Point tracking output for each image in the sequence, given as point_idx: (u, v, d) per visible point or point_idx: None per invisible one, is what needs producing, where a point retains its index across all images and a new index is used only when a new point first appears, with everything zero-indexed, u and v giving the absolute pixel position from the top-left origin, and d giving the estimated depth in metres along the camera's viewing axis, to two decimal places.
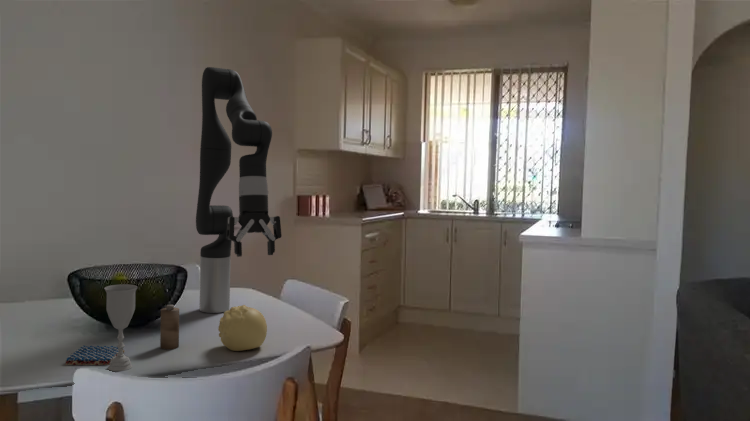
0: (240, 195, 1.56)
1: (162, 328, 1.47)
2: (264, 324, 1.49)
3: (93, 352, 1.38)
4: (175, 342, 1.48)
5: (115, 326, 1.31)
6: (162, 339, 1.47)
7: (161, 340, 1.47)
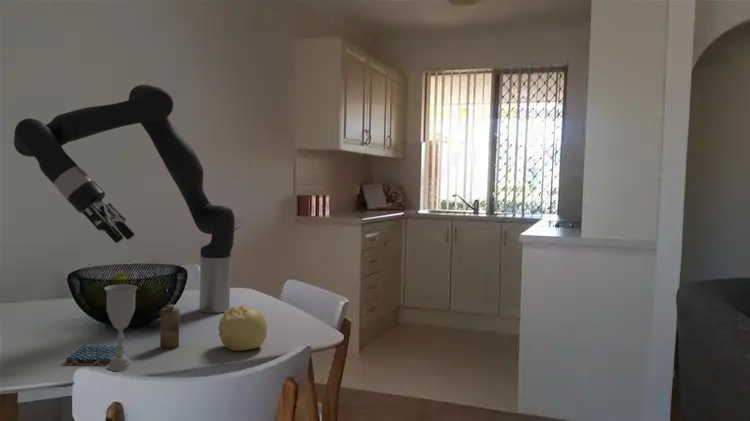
0: None
1: (162, 328, 1.47)
2: (264, 324, 1.49)
3: (93, 352, 1.38)
4: (175, 342, 1.48)
5: (115, 326, 1.31)
6: (161, 339, 1.47)
7: (161, 340, 1.47)
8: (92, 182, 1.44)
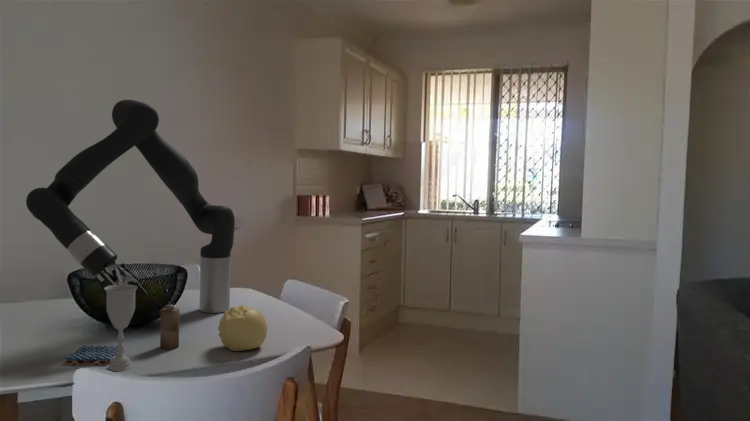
0: None
1: (162, 328, 1.47)
2: (264, 324, 1.49)
3: (93, 352, 1.38)
4: (175, 342, 1.48)
5: (115, 326, 1.31)
6: (162, 339, 1.47)
7: (161, 340, 1.47)
8: (104, 246, 1.46)
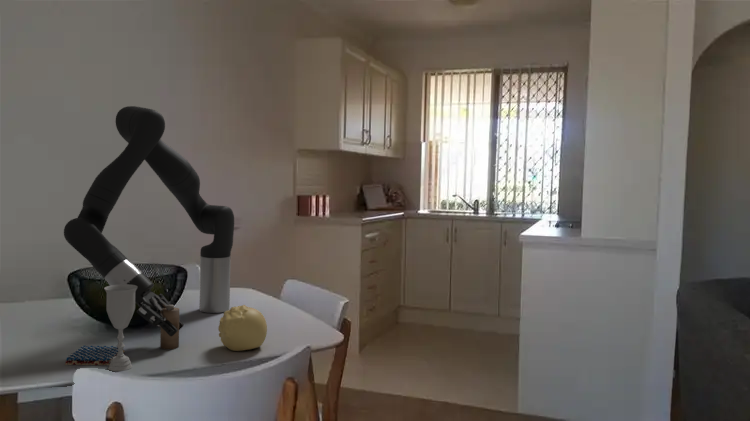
0: None
1: (162, 328, 1.47)
2: (264, 324, 1.49)
3: (93, 352, 1.38)
4: (175, 342, 1.48)
5: (115, 326, 1.31)
6: (162, 339, 1.47)
7: (161, 340, 1.47)
8: (141, 275, 1.47)
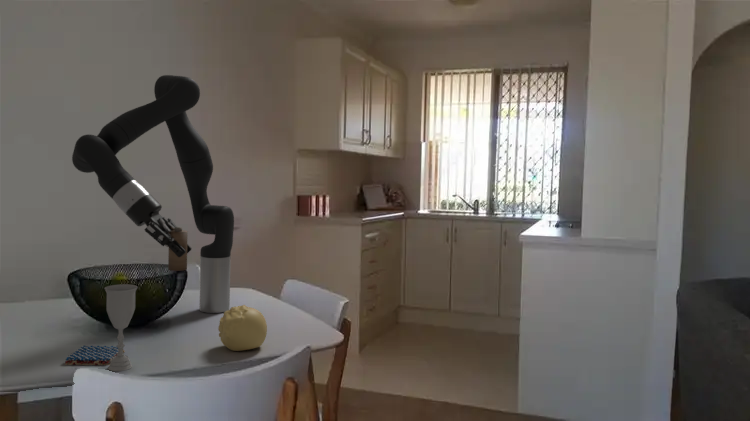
0: None
1: (170, 249, 1.46)
2: (264, 324, 1.49)
3: (93, 352, 1.38)
4: (183, 264, 1.47)
5: (115, 326, 1.31)
6: (170, 260, 1.46)
7: (169, 261, 1.46)
8: (149, 196, 1.46)
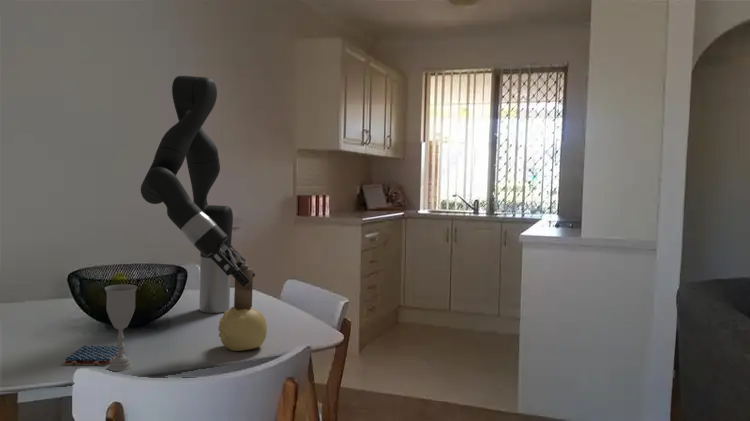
0: None
1: (237, 287, 1.48)
2: (264, 324, 1.49)
3: (93, 352, 1.38)
4: (249, 302, 1.49)
5: (115, 326, 1.31)
6: (236, 298, 1.48)
7: (235, 299, 1.48)
8: (216, 227, 1.48)
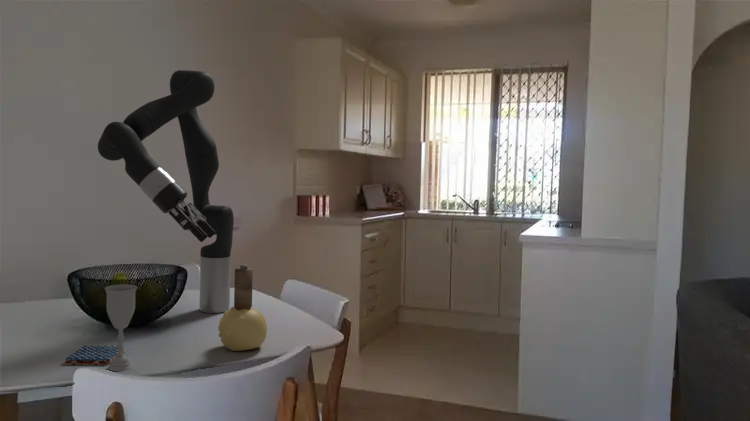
0: None
1: (237, 287, 1.48)
2: (264, 324, 1.49)
3: (93, 352, 1.38)
4: (249, 302, 1.49)
5: (115, 326, 1.31)
6: (236, 298, 1.48)
7: (235, 299, 1.48)
8: (175, 183, 1.47)
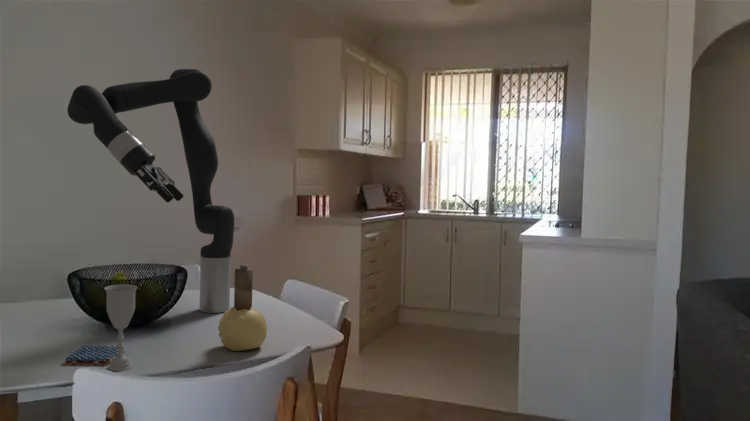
0: None
1: (237, 287, 1.48)
2: (264, 324, 1.49)
3: (93, 352, 1.38)
4: (249, 302, 1.49)
5: (115, 326, 1.31)
6: (236, 298, 1.48)
7: (235, 299, 1.48)
8: (143, 145, 1.51)
